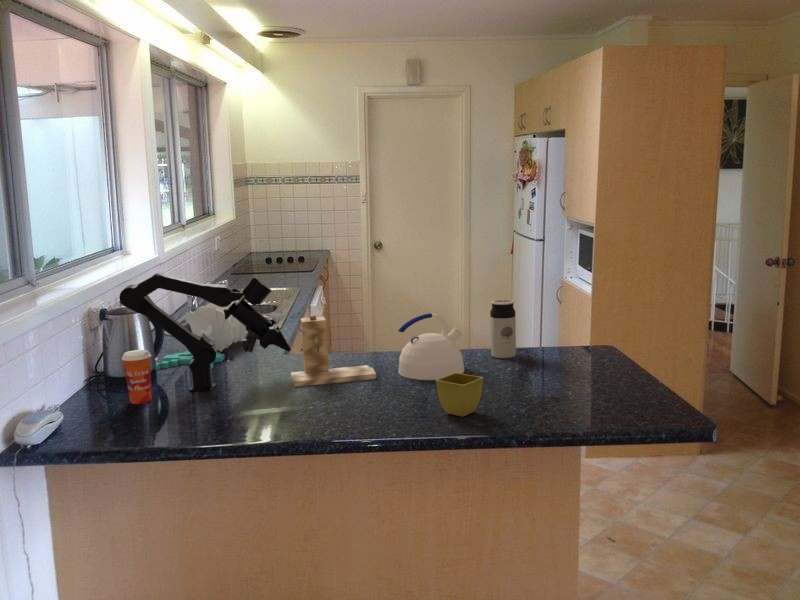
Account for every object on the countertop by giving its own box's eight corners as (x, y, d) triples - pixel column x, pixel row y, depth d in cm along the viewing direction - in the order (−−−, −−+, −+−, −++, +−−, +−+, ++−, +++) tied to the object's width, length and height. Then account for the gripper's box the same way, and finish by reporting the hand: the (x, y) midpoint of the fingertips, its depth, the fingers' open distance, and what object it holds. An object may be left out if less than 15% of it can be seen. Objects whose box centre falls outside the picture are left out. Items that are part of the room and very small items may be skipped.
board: (294, 389, 212) (293, 381, 211) (290, 375, 227) (290, 367, 227) (376, 381, 216) (376, 373, 216) (368, 368, 232) (367, 360, 231)
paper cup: (125, 406, 203) (119, 357, 200) (127, 398, 210) (122, 350, 208) (155, 403, 205) (150, 354, 202) (156, 395, 212) (151, 348, 210)
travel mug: (490, 353, 244) (489, 299, 241) (514, 352, 243) (513, 298, 240) (492, 359, 236) (491, 303, 233) (517, 358, 236) (516, 303, 232)
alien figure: (211, 370, 239) (231, 355, 258) (210, 363, 238) (230, 349, 258) (151, 371, 241) (176, 356, 261) (151, 364, 241) (175, 350, 260)
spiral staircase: (246, 349, 282) (221, 363, 257) (204, 330, 283) (176, 342, 259) (263, 306, 279) (239, 316, 254) (221, 287, 280) (194, 294, 255)
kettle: (477, 374, 220) (475, 315, 217) (413, 384, 213) (410, 323, 209) (448, 359, 239) (446, 304, 235) (388, 368, 231) (385, 311, 228)
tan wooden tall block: (308, 386, 211) (304, 325, 208) (304, 372, 226) (300, 315, 223) (332, 384, 212) (329, 322, 209) (327, 370, 227) (323, 313, 224)
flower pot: (456, 405, 192) (455, 371, 190) (484, 411, 186) (483, 376, 185) (436, 414, 185) (434, 380, 184) (464, 421, 180) (463, 385, 178)
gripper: (231, 331, 226) (271, 363, 230) (230, 344, 208) (273, 378, 212) (255, 303, 226) (294, 336, 230) (256, 314, 208) (298, 349, 212)
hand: (289, 350), depth 221 cm, fingers closed
